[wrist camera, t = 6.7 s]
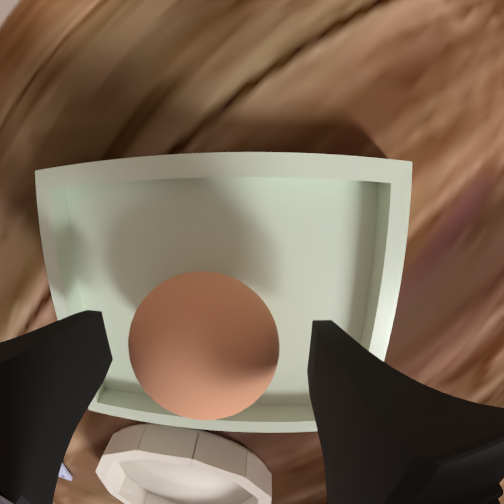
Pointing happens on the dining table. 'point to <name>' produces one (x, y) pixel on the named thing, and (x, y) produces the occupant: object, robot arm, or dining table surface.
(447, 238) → the dining table surface
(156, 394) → the ball
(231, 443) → the dish
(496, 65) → the dining table surface
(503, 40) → the dining table surface
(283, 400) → the tray
